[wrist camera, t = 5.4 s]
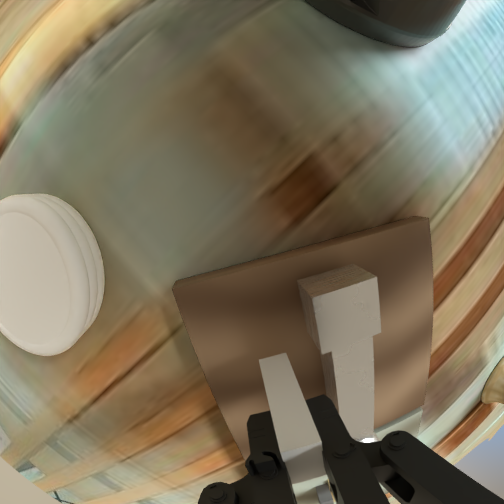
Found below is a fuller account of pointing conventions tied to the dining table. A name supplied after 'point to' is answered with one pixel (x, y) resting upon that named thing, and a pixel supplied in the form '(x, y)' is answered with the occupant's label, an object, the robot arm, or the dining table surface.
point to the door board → (299, 340)
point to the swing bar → (345, 341)
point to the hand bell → (494, 385)
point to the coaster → (47, 273)
